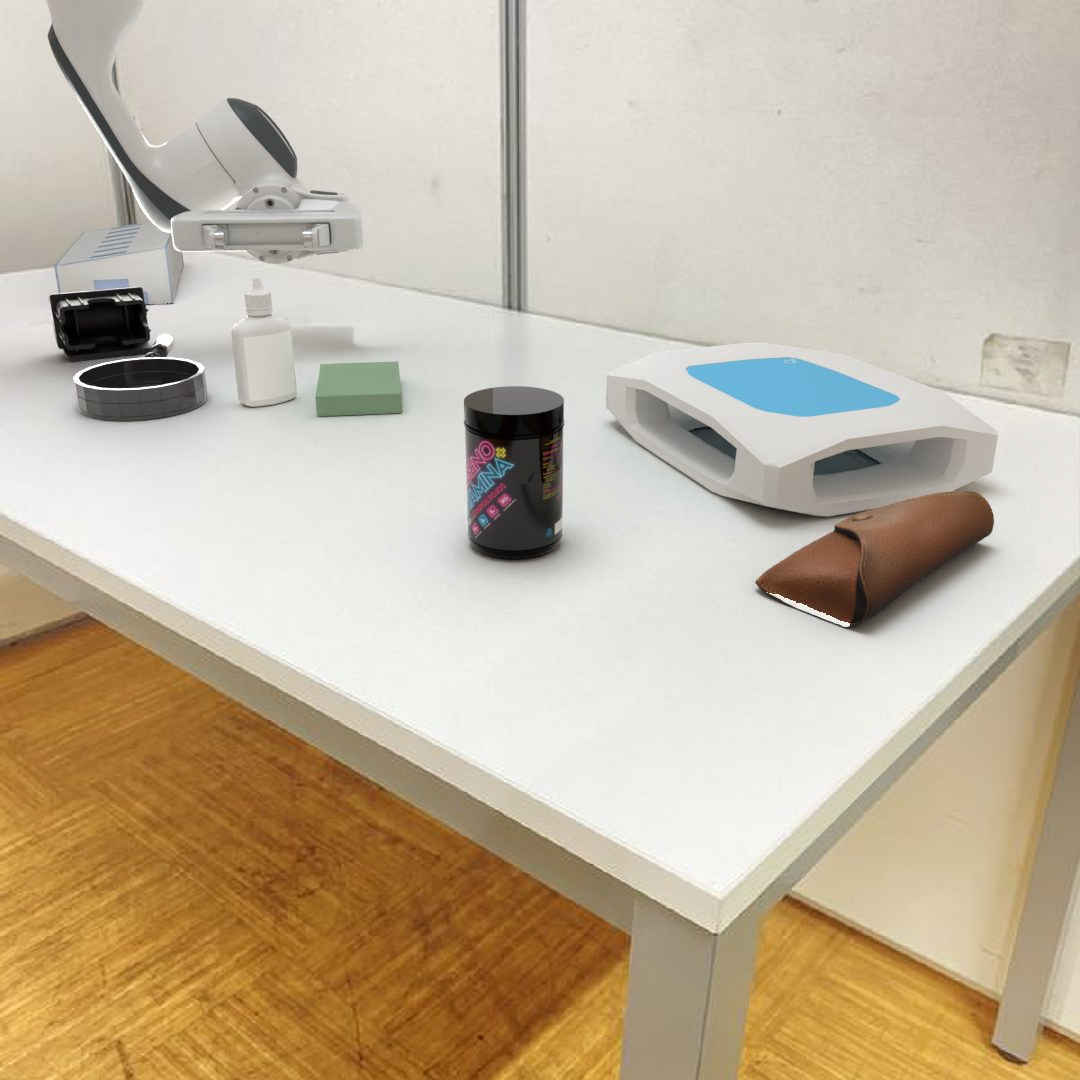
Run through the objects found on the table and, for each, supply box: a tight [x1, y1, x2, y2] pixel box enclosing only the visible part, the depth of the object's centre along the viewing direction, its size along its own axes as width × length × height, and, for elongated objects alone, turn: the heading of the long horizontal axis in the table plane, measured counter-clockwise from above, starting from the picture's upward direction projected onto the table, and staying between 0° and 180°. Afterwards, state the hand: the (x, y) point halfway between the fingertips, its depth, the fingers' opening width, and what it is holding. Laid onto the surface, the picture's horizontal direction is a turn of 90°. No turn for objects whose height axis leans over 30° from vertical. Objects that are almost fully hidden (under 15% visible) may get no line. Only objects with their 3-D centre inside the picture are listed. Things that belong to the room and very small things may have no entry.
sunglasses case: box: [755, 490, 995, 628], centre depth 75 cm, size 18×7×7 cm
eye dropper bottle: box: [231, 276, 298, 408], centre depth 109 cm, size 4×6×12 cm
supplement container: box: [463, 385, 565, 560], centre depth 77 cm, size 7×7×10 cm
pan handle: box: [143, 333, 175, 358], centre depth 120 cm, size 2×10×2 cm, turn 8°
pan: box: [72, 357, 208, 422], centre depth 110 cm, size 12×12×3 cm
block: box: [315, 361, 403, 417], centre depth 112 cm, size 8×12×2 cm, turn 8°
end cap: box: [48, 287, 152, 362], centre depth 128 cm, size 10×7×7 cm
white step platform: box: [605, 341, 999, 517], centre depth 96 cm, size 21×28×6 cm
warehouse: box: [53, 220, 185, 305], centre depth 164 cm, size 30×14×8 cm, turn 14°
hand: (263, 240), depth 117 cm, fingers open, 8 cm apart
